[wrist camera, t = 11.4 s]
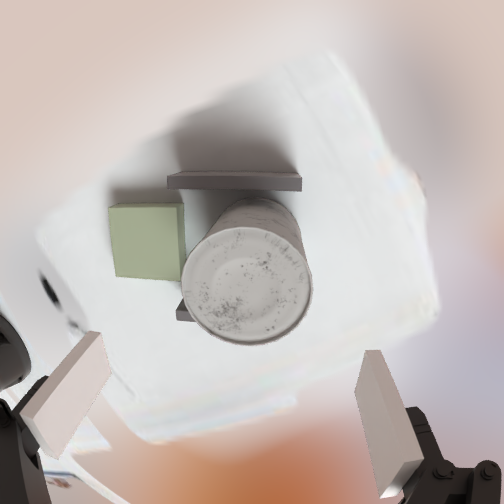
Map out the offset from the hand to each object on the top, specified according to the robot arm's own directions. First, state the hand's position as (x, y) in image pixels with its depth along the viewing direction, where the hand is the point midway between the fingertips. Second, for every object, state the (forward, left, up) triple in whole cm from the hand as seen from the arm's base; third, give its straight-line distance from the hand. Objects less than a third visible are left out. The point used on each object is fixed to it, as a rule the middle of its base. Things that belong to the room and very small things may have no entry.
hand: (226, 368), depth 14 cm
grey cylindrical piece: (0, 0, -21) cm, 21 cm away
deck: (-12, 0, -21) cm, 24 cm away
